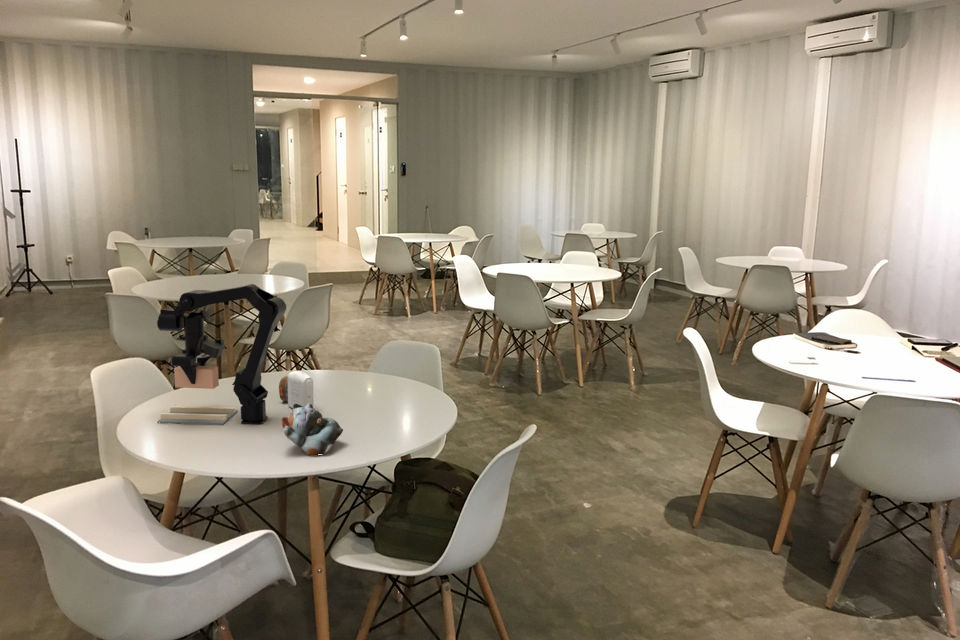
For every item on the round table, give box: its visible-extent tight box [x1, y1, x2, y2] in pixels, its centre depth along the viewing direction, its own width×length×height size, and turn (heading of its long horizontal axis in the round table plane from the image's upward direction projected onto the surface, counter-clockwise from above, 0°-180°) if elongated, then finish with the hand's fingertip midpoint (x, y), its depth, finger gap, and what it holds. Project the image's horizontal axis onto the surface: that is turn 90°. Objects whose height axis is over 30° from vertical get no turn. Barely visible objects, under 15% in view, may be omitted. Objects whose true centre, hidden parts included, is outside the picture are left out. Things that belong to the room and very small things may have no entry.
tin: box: [278, 373, 289, 402], centre depth 257 cm, size 15×3×8 cm, turn 168°
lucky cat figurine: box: [281, 403, 344, 456], centre depth 210 cm, size 15×12×14 cm
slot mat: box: [157, 405, 239, 426], centre depth 236 cm, size 20×13×2 cm, turn 89°
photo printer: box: [287, 370, 314, 409], centre depth 245 cm, size 10×4×12 cm, turn 47°
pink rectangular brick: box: [173, 365, 220, 390], centre depth 233 cm, size 4×12×6 cm, turn 85°
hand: (196, 382), depth 234 cm, fingers closed on pink rectangular brick, 4 cm apart
